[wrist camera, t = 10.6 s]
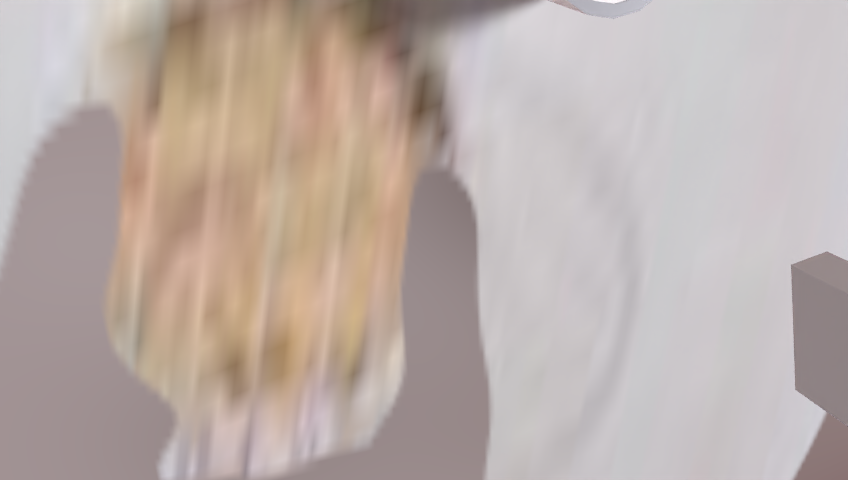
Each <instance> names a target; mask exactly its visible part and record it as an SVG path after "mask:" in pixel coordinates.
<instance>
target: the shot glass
mask: <svg viewBox="0 0 848 480" xmlns="http://www.w3.org/2000/svg"><path fill="white" fill-rule="evenodd" d="M548 1H551V2H554V3H557V4H559V5H562V6H565V7H567V8H570V9H573V10H576V11H578V12H581V13H584V14H586V15H592V16H599V17H606V18H612V19H614V18H617V17H621V16H624V15H627V14H630V13H634V12H637V11H640V10H641V9H642V8H644V7H645V6H646V5H647V4H648V3H650V2H651V1H652V0H548Z"/></svg>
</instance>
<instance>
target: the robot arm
mask: <svg viewBox="0 0 848 480" xmlns="http://www.w3.org/2000/svg"><path fill="white" fill-rule="evenodd" d="M791 273H792V302H793V332H794V361H795V390H797V391H798V392H800V393H801V394H802V395H804V396H805V397H807V398H808V399H809V400H811V401H812V402H814V403H815V404H816V405H818V406H819V407H821V408H822V409H824V410H825V411H826V412H828V413H829V414H831V415H832V416H833V417H835V418H836V419H838V420H839V421H840V422H842V423H843V424H845V425H846V426H848V261H846V260H844V259H842V258H840V257H838V256H836V255H833V254H831V253H829V252H824V253H822V254H819V255H816V256H814V257H811V258H808V259H806V260H803V261H800V262H798V263H795V264H792V265H791Z"/></svg>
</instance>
